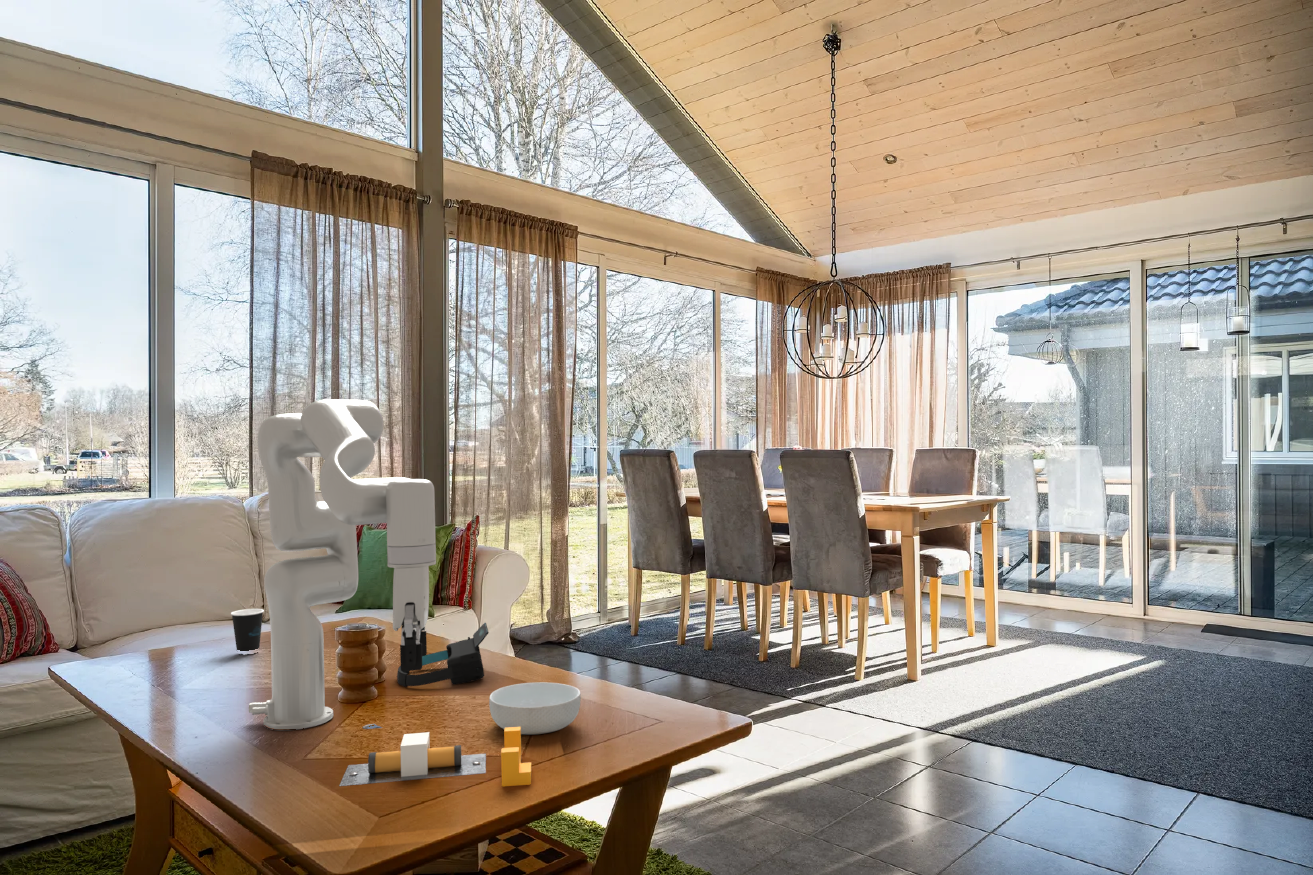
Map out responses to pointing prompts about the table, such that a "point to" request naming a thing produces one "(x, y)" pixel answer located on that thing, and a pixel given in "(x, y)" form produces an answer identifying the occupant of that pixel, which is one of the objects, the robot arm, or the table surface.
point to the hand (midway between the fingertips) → (414, 662)
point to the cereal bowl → (535, 706)
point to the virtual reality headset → (451, 663)
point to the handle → (435, 759)
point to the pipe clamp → (514, 760)
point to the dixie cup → (247, 628)
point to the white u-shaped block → (414, 754)
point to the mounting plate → (467, 767)
